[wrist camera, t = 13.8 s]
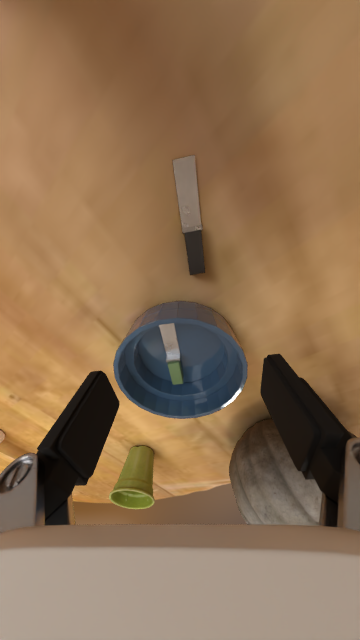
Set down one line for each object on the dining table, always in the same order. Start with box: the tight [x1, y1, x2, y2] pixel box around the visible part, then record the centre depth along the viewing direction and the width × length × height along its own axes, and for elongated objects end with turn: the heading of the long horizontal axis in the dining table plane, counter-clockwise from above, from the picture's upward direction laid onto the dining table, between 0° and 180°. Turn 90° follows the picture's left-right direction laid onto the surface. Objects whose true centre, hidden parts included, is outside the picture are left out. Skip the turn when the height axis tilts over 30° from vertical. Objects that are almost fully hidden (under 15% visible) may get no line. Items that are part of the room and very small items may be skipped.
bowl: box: [113, 301, 247, 419], centre depth 24 cm, size 17×17×6 cm
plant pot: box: [109, 446, 154, 509], centre depth 37 cm, size 9×9×9 cm
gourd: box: [229, 419, 356, 526], centre depth 28 cm, size 25×25×17 cm
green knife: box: [159, 323, 183, 385], centre depth 25 cm, size 11×2×2 cm, turn 9°
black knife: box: [173, 155, 205, 275], centre depth 18 cm, size 11×2×2 cm, turn 9°
